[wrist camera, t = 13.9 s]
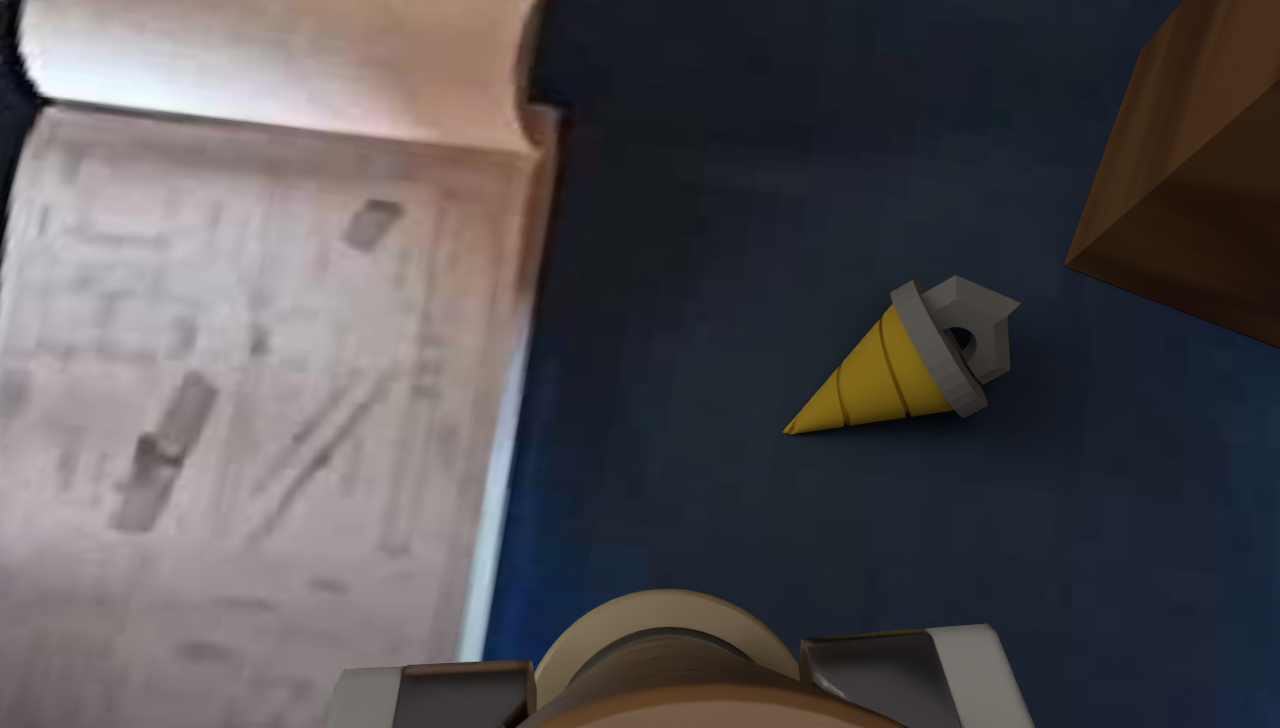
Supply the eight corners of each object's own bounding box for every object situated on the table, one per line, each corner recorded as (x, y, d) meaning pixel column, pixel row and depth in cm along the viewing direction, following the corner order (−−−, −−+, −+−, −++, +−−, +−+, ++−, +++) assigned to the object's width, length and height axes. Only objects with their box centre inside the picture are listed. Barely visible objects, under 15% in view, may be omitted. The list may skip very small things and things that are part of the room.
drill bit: (1034, 321, 47) (812, 442, 50) (970, 216, 45) (742, 349, 48) (1074, 394, 42) (827, 522, 45) (1005, 281, 40) (750, 423, 43)
